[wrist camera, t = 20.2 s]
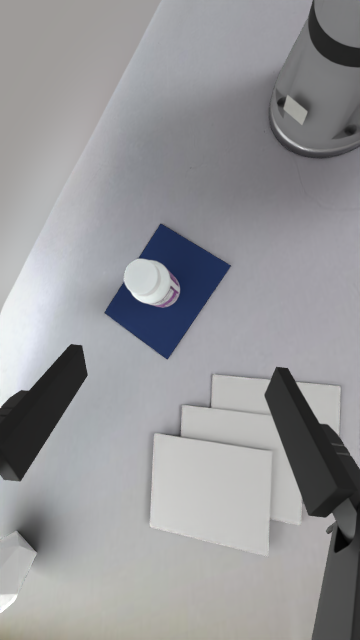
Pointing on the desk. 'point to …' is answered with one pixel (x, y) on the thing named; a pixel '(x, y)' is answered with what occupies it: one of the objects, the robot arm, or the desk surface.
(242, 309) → the desk surface
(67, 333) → the desk surface
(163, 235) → the cloth
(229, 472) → the paper stack
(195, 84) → the desk surface
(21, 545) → the die
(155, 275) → the pill bottle
